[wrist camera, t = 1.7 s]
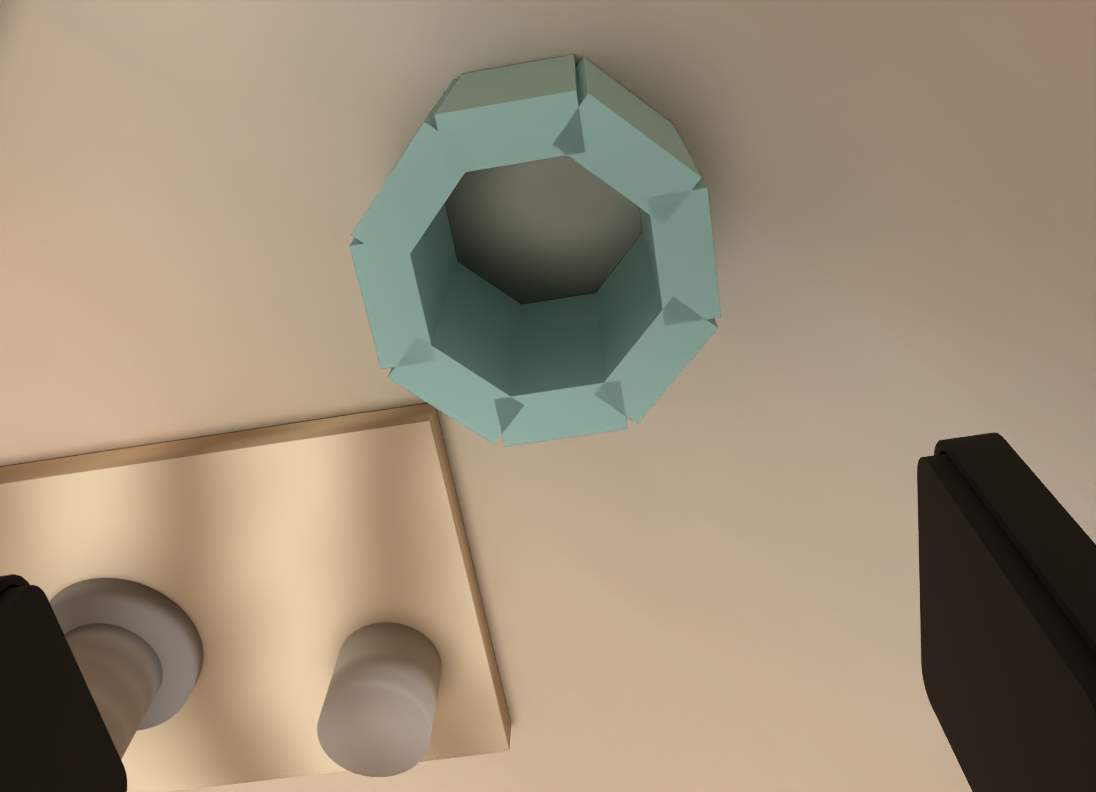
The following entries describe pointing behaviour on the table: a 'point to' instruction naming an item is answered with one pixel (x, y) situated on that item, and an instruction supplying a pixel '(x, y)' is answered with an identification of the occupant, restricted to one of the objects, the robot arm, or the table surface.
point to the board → (266, 599)
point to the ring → (554, 325)
